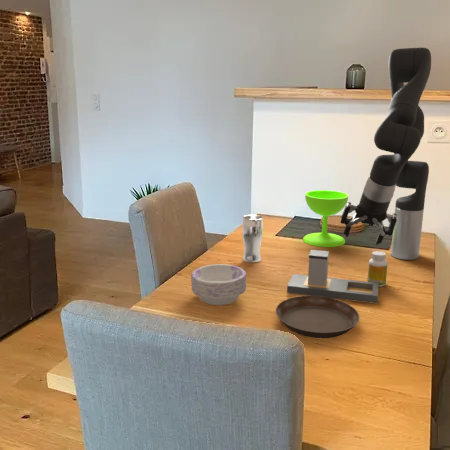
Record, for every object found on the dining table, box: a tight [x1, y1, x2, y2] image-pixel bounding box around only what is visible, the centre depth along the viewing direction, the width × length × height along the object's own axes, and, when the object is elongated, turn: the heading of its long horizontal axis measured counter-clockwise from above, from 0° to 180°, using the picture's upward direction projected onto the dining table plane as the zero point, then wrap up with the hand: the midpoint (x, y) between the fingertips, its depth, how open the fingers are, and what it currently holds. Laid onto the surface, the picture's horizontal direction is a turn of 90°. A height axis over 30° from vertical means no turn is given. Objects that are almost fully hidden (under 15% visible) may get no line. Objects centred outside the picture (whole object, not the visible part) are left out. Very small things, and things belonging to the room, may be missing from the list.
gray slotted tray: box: [286, 249, 379, 304], centre depth 151 cm, size 10×25×11 cm, turn 73°
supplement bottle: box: [366, 250, 389, 288], centre depth 157 cm, size 5×5×10 cm
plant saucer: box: [275, 295, 360, 339], centre depth 132 cm, size 21×21×3 cm
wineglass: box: [302, 189, 349, 248], centre depth 198 cm, size 16×16×18 cm
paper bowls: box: [190, 263, 247, 306], centre depth 145 cm, size 15×15×8 cm
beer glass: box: [241, 214, 264, 264], centre depth 176 cm, size 7×7×15 cm
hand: (361, 239), depth 148 cm, fingers open, 8 cm apart
